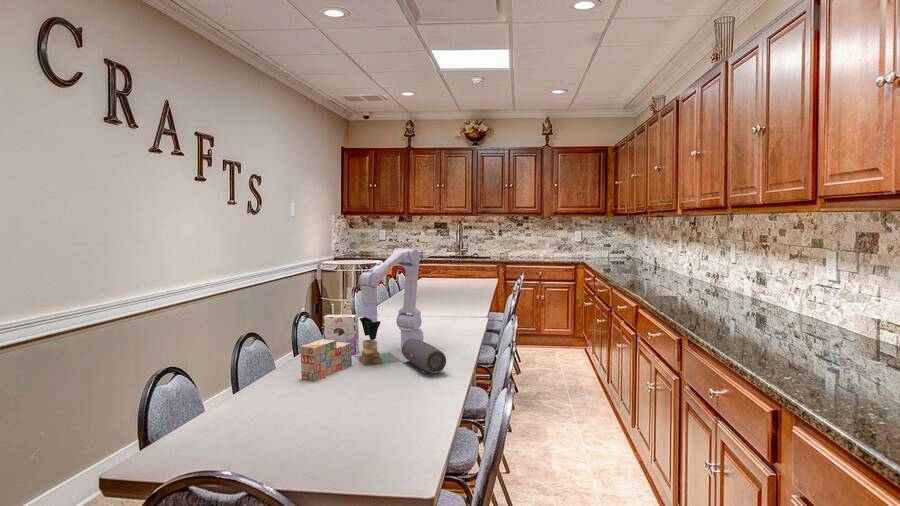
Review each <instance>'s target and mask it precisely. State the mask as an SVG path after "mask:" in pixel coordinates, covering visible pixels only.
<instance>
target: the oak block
mask: <svg viewBox="0 0 900 506" xmlns="http://www.w3.org/2000/svg"><path fill="white" fill-rule="evenodd" d="M362 351H363V352H364V353H365V354H373V353H377V352H378V341H377V340H376V339H372V340H370V339H365V340H363V339H362Z"/></svg>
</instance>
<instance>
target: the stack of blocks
mask: <svg viewBox="0 0 900 506" xmlns="http://www.w3.org/2000/svg"><path fill="white" fill-rule="evenodd" d="M300 353H301V354H300V364H301V380H304V381H310V382H318V381H320V380H322V378H323V379H326V377H328V376H330V375H332V374H334V373H336V372H339V371H342V370H344V369H347V368H349V367H352V365H353V364H352V363H353V362H352V355H351V343H343V342H336V340H327V339H324V338H321V339H319V340H315V341H313V342H310V343H308V344H303V345H301V346H300Z"/></svg>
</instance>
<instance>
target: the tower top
mask: <svg viewBox="0 0 900 506" xmlns="http://www.w3.org/2000/svg"><path fill="white" fill-rule="evenodd" d="M361 355H362V357H363V358H364V359H365V360H367V359H376V358H379V351H377V353H373V354H365V353H364V352H363V350H362V351H361Z"/></svg>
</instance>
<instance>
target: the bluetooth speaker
mask: <svg viewBox="0 0 900 506" xmlns="http://www.w3.org/2000/svg"><path fill="white" fill-rule="evenodd" d="M423 341H424V340H423ZM423 341H420V340H417V339H408V340H407V341H405V343H404V344H403V346H402V351H401V353H402V355H403V357H404V358H405V359H406V360H407V361H409V362H411V363H412V364H413V365H414V366H415V367H416V368H418V369H419V370H421V371H422V372H423V371H424V373H433V374H438V373H441V372H442V371H443V370H444V369H445V367H446V366H447V358H446V355H445V353H444V352H443V351H441V350H440V349H439V348H437V347H435V346H433V345H431V344H430V343H427V342H425V341H424V342H423Z"/></svg>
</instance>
